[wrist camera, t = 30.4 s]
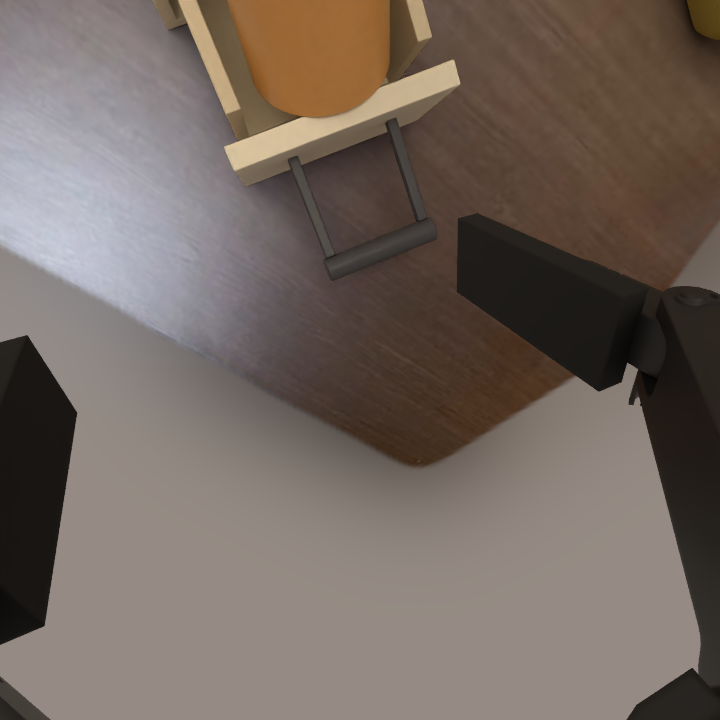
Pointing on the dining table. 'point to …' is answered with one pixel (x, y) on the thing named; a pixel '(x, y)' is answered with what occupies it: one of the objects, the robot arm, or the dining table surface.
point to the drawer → (324, 121)
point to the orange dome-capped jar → (314, 51)
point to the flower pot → (706, 17)
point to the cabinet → (170, 13)
